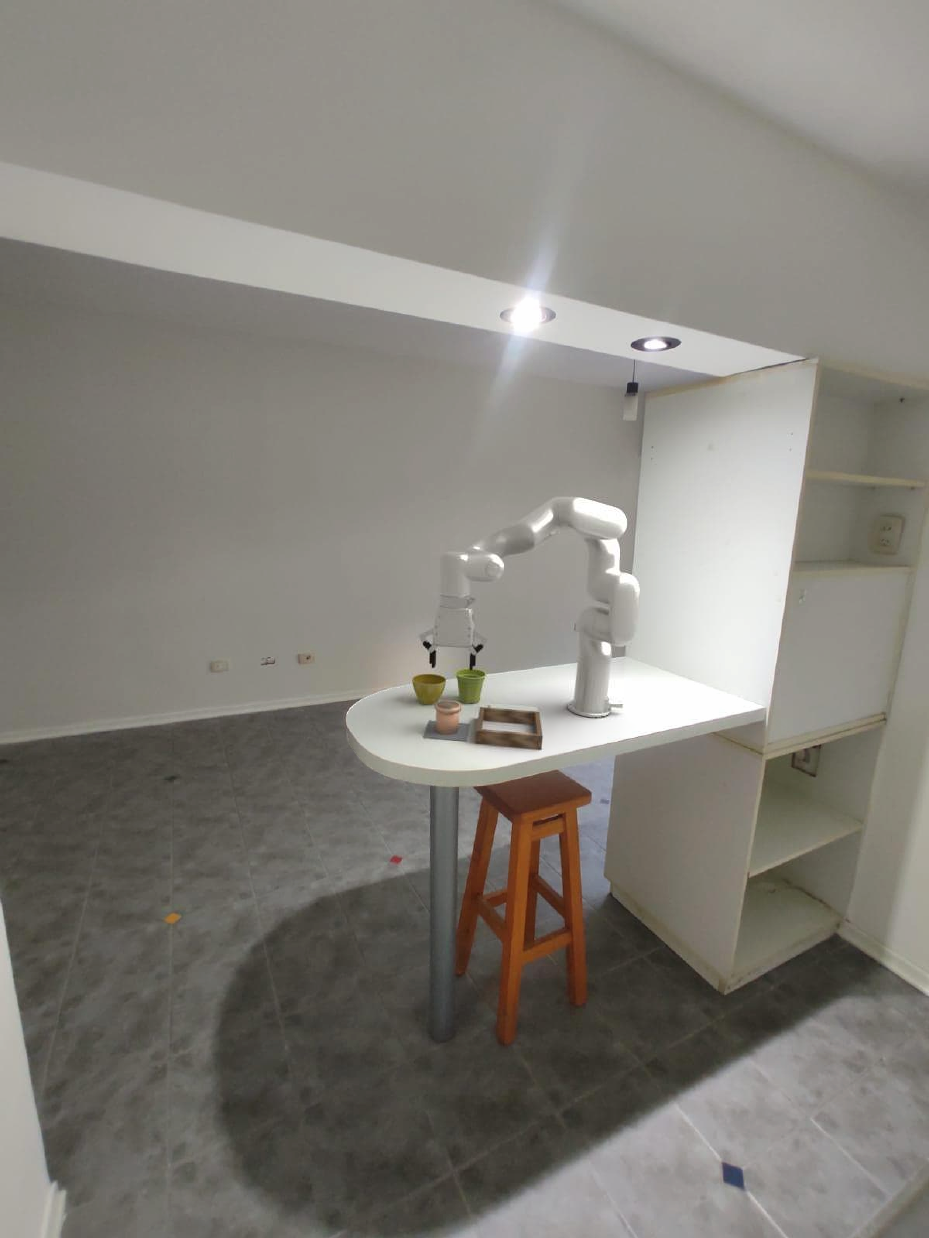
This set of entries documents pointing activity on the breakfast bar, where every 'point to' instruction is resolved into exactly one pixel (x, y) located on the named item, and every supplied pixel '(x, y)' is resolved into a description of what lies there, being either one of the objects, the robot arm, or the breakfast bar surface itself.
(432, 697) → the flower pot
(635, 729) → the breakfast bar surface
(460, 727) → the slate mat
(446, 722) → the terracotta pot
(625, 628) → the robot arm
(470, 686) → the plant pot
